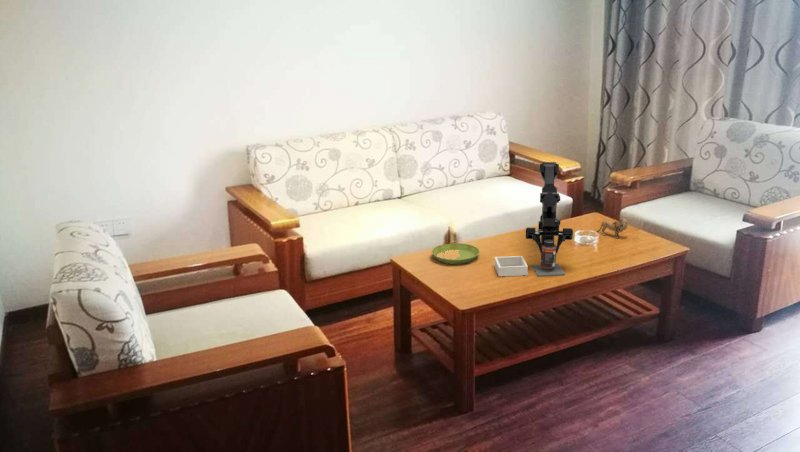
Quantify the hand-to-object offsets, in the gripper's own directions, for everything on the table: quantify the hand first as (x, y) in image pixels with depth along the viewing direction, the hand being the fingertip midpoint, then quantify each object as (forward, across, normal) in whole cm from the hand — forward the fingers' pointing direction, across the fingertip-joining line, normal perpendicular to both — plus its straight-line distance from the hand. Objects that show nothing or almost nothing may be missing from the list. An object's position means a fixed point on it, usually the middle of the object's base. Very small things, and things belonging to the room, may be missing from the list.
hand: (548, 252), depth 268 cm
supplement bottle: (+4, 0, +6) cm, 7 cm away
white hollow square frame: (+6, -15, +6) cm, 17 cm away
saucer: (-3, -39, +16) cm, 42 cm away
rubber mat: (+5, 0, +7) cm, 8 cm away
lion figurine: (-26, +30, +39) cm, 55 cm away
